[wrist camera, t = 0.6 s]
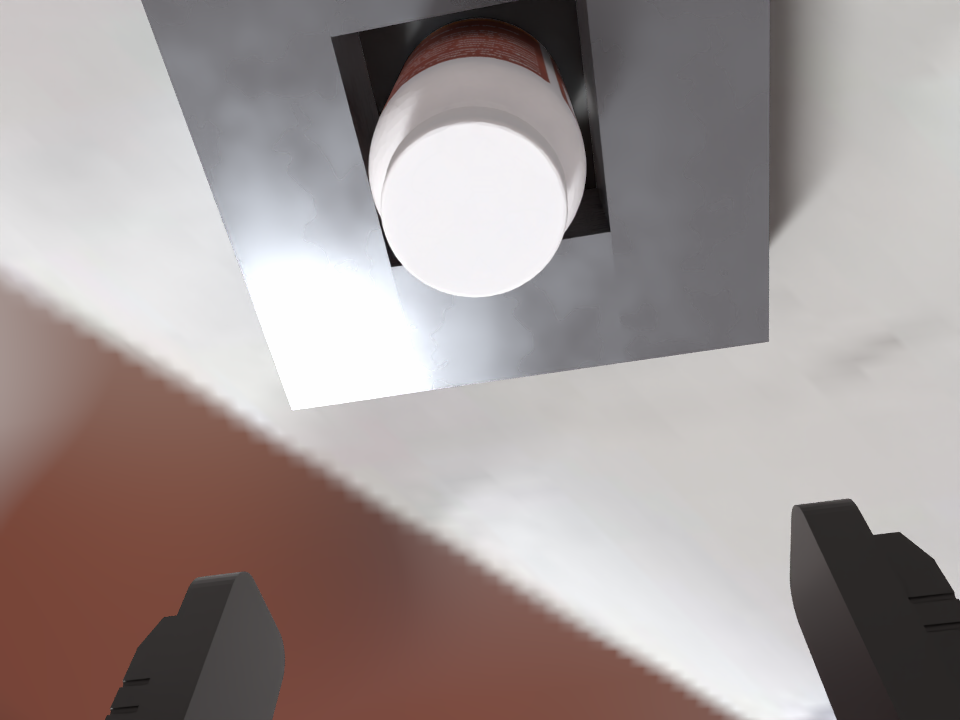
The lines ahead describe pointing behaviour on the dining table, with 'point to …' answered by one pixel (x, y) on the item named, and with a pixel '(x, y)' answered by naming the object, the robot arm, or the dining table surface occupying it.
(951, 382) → the dining table surface
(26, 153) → the dining table surface
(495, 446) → the dining table surface
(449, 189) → the pill bottle
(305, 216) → the bore housing
